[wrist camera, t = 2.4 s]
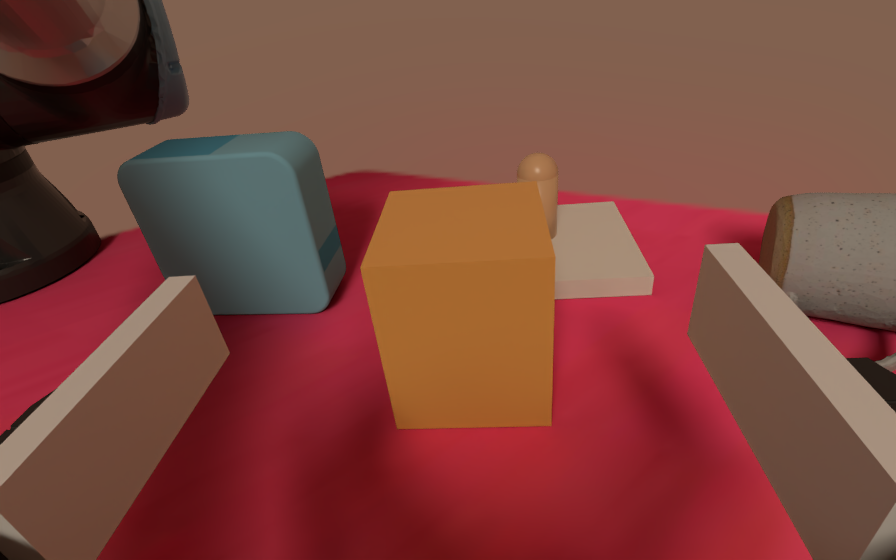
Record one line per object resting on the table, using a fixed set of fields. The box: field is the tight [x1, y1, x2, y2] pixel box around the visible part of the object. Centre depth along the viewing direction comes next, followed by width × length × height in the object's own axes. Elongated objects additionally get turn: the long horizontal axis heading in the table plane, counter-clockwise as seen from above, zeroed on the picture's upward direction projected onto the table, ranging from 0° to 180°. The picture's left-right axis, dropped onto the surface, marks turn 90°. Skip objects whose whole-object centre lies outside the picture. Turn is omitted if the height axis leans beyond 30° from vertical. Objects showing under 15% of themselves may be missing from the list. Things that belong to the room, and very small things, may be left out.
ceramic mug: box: [759, 193, 896, 372], centre depth 27 cm, size 11×8×8 cm
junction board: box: [517, 153, 654, 299], centre depth 37 cm, size 18×12×8 cm, turn 87°
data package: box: [117, 131, 346, 315], centre depth 35 cm, size 12×4×12 cm, turn 84°
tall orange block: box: [360, 181, 556, 429], centre depth 26 cm, size 8×8×10 cm
